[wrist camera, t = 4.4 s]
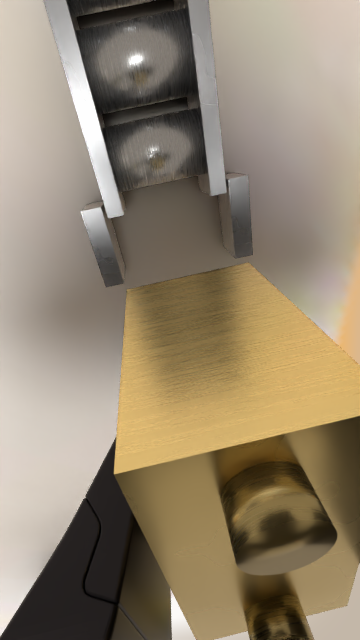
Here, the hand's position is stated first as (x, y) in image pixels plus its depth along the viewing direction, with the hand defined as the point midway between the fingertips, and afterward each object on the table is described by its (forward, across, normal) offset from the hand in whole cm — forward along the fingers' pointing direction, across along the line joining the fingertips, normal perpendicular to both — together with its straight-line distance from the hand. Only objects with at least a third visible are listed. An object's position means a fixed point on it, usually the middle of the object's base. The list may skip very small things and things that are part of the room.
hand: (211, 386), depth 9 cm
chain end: (+8, 0, -7) cm, 10 cm away
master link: (+1, 0, 0) cm, 1 cm away
